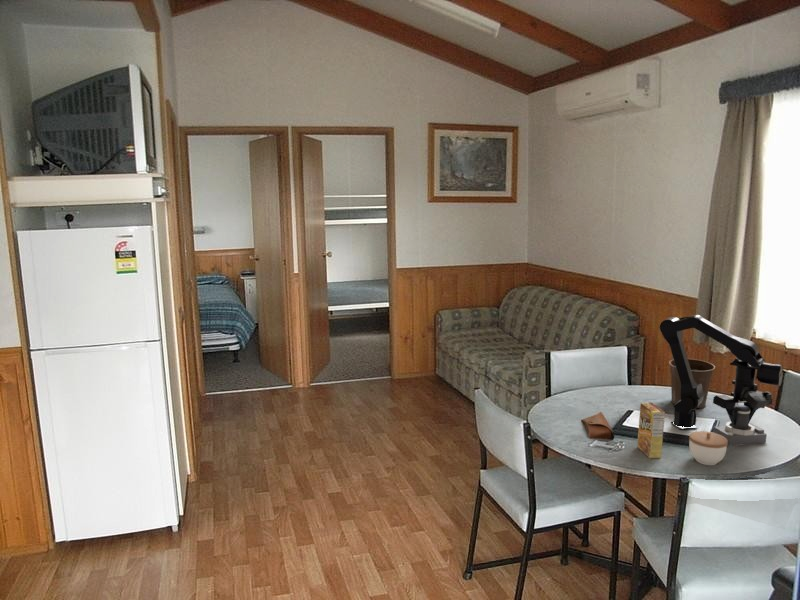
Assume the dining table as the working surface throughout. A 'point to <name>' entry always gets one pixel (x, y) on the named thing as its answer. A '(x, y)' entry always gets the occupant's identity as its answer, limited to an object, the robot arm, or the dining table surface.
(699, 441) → the lidded jar
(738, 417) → the lens
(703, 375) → the plant pot
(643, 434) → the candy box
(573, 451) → the dining table surface
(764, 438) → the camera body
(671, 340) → the robot arm
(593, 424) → the sunglasses case
